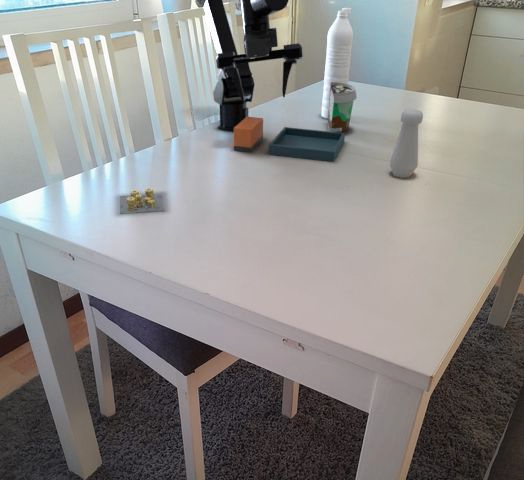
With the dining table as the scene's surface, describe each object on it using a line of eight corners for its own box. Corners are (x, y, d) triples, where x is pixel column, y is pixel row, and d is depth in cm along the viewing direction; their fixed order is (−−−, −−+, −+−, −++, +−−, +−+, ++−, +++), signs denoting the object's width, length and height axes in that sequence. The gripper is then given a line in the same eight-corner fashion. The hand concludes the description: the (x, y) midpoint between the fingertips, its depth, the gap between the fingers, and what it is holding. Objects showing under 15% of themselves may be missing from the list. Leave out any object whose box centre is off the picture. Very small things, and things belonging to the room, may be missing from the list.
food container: (355, 137, 135) (360, 94, 129) (330, 136, 135) (334, 93, 129) (350, 122, 145) (354, 82, 139) (327, 122, 145) (330, 81, 139)
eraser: (233, 150, 127) (233, 128, 123) (246, 137, 134) (246, 116, 131) (250, 152, 126) (251, 130, 123) (263, 139, 133) (263, 117, 130)
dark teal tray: (268, 154, 125) (268, 144, 123) (284, 136, 135) (284, 126, 134) (333, 161, 121) (334, 151, 120) (344, 142, 132) (345, 133, 131)
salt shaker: (418, 172, 117) (430, 108, 109) (412, 181, 113) (425, 115, 105) (391, 167, 119) (402, 104, 111) (385, 176, 115) (395, 111, 107)
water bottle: (341, 121, 146) (352, 12, 130) (318, 118, 148) (326, 11, 132) (349, 112, 152) (360, 8, 137) (326, 110, 154) (335, 7, 138)
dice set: (128, 210, 100) (126, 200, 99) (127, 199, 104) (126, 189, 103) (155, 208, 101) (154, 198, 100) (154, 197, 105) (153, 188, 103)
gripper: (208, 21, 109) (218, 105, 116) (300, 8, 108) (305, 94, 114) (214, 27, 119) (224, 104, 126) (299, 16, 118) (304, 94, 124)
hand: (263, 99), depth 122 cm, fingers open, 9 cm apart
